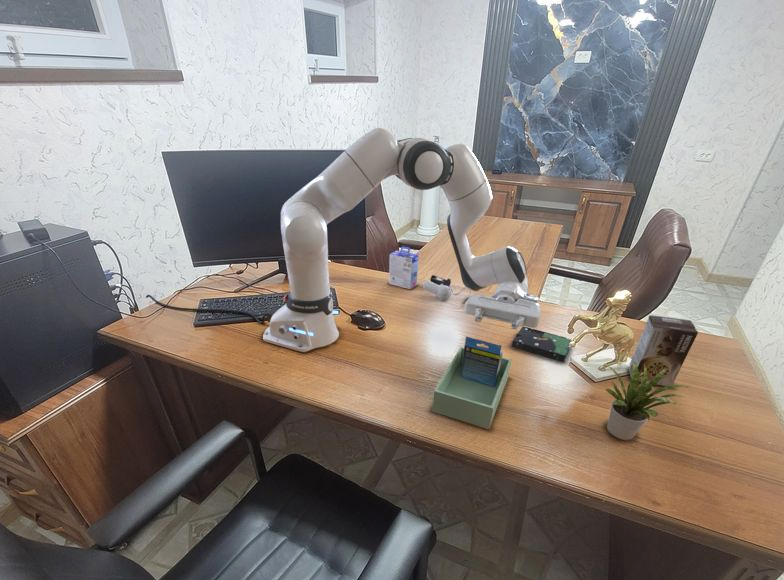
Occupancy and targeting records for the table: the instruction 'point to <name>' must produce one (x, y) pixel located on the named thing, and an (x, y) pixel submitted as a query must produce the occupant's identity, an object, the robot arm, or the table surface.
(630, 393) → the house plant
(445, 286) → the clip-on lamp
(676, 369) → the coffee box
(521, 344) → the disk drive
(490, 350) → the tape cartridge
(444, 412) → the bin
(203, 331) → the table surface
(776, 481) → the table surface
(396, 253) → the ink cartridge box
